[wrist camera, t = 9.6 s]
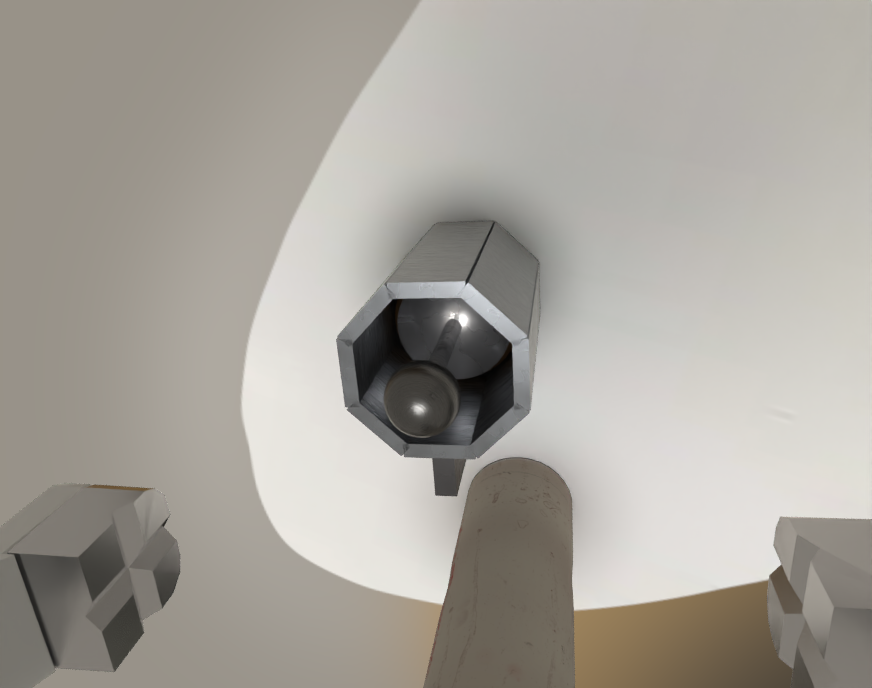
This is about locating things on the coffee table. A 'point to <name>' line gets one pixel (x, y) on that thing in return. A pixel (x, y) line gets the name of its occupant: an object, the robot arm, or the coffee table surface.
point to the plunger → (438, 362)
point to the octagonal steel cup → (480, 396)
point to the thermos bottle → (509, 585)
